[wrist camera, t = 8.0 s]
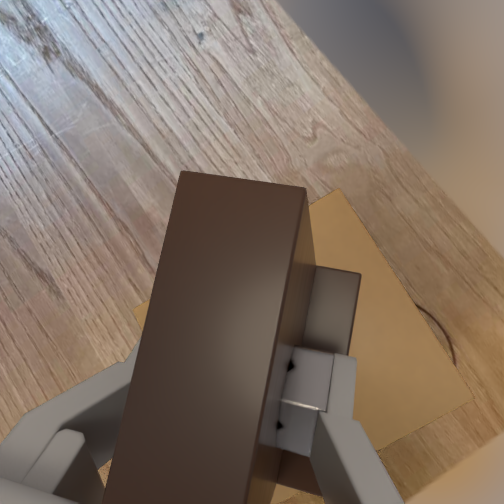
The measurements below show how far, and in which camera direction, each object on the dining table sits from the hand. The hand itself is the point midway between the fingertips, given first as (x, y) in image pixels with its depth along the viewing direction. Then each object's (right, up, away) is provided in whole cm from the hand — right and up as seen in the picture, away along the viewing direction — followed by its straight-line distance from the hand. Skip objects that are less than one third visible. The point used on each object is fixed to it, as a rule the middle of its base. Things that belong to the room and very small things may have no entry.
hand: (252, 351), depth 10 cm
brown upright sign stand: (+1, -1, +4) cm, 4 cm away
